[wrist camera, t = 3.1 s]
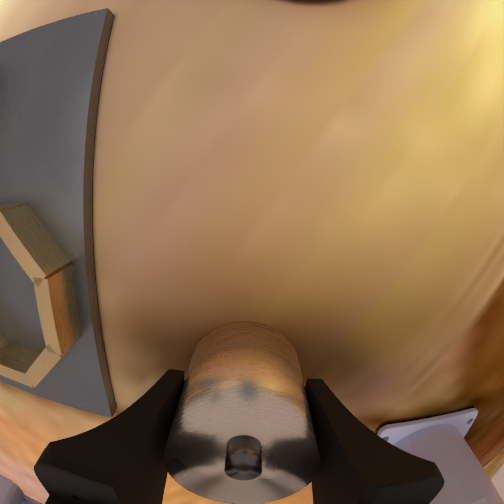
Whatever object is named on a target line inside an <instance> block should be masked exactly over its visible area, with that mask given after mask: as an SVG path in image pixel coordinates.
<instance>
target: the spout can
mask: <svg viewBox="0 0 504 504" xmlns="http://www.w3.org/2000/svg"><path fill="white" fill-rule="evenodd" d="M163 458H164V464H165V467H166V469H167V471H168V473H169V474H170V475H171V477H172V478H173V479H174V480H175V481H176V482H177V483H179V484H180V485H181V486H183V487H184V488H186V489H187V490H189V491H191V492H193V493H195V494H197V495H199V496H202V497H205V498H208V499H211V500H215V501H219V502H225V503H233V504H258V503H265V502H271V501H275V500H279V499H282V498H285V497H288V496H290V495H292V494H294V493H296V492H298V491H300V490H301V489H303V488H304V487H306V486H307V485H308V484H309V483H310V482H311V481H312V480H313V479H314V478H315V476H316V475H317V473H318V471H319V468H320V455H319V451H318V446H317V441H316V436H315V432H314V427H313V423H312V418H311V413H310V409H309V404H308V400H307V395H306V391H305V386H304V382H303V377H302V373H301V369H300V364H299V360H298V356H297V353H296V350H295V348H294V347H293V345H292V343H291V342H290V341H289V340H288V339H287V338H286V337H285V336H284V335H283V334H281V333H280V332H278V331H277V330H275V329H273V328H271V327H268V326H266V325H263V324H258V323H252V322H236V323H230V324H226V325H223V326H220V327H218V328H216V329H214V330H212V331H211V332H209V333H208V334H206V335H205V336H204V337H203V338H202V339H201V340H200V342H199V343H198V344H197V346H196V348H195V350H194V353H193V356H192V359H191V362H190V365H189V369H188V372H187V375H186V379H185V382H184V385H183V389H182V392H181V395H180V399H179V402H178V405H177V409H176V412H175V416H174V419H173V422H172V426H171V429H170V433H169V436H168V440H167V443H166V447H165V450H164V456H163Z"/></svg>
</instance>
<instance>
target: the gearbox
mask: <svg viewBox="0 0 504 504" xmlns="http://www.w3.org/2000/svg"><path fill="white" fill-rule="evenodd" d="M113 19H114V14H113V13H112V12H111V11H110V10H109V9H108V8H107V9H102V10H97V11H93V12H89V13H85V14H81V15H77V16H73V17H70V18H66V19H63V20H59V21H56V22H53V23H50V24H47V25H44V26H41V27H38V28H35V29H32V30H30V31H27V32H24V33H22V34H19V35H17V36H14V37H12V38H9V39H7V40H5V41H2V42H0V381H3V382H5V383H7V384H10V385H12V386H15V387H17V388H20V389H22V390H25V391H27V392H30V393H33V394H35V395H38V396H41V397H44V398H46V399H49V400H52V401H55V402H58V403H61V404H65V405H68V406H71V407H74V408H78V409H81V410H85V411H88V412H92V413H96V414H100V415H104V416H108V417H113V415H114V413H115V411H116V409H117V408H116V404H115V400H114V396H113V391H112V387H111V382H110V377H109V372H108V367H107V361H106V356H105V350H104V344H103V338H102V331H101V324H100V317H99V308H98V300H97V290H96V279H95V267H94V250H93V224H92V184H93V158H94V142H95V130H96V119H97V110H98V101H99V94H100V87H101V80H102V73H103V67H104V62H105V56H106V51H107V46H108V41H109V36H110V32H111V27H112V23H113Z"/></svg>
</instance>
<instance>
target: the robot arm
mask: <svg viewBox="0 0 504 504" xmlns="http://www.w3.org/2000/svg"><path fill="white" fill-rule="evenodd" d="M183 385H184V371H180V370H172V369H169V370H168V371H167V372H166V373H165V374H164V375H163V376H162V377H161V378H160V379H159V380H158V381H157V382H156V383H155V384H154V385H153V386H152V387H151V388H150V389H149V390H148V391H147V392H146V393H145V394H144V395H143V396H142V397H141V398H139V399H138V400H137V401H136V402H135V403H133V404H132V405H131V406H130V407H128V408H127V409H126V410H124V411H123V412H122V413H120V414H119V415H117V416H116V417H114V418H112V419H111V420H109V421H107V422H105V423H103V424H101V425H99V426H98V427H96V428H93V429H91V430H89V431H86V432H84V433H81V434H78V435H76V436H73V437H69V438H66V439H62V440H58V441H54V442H50V443H49V444H48V445H47V447H46V448H45V449H44V451H43V453H42V454H41V456H40V458H39V459H38V461H37V463H36V464H35V466H34V471H35V474H36V476H37V477H38V479H39V480H40V482H41V483H42V485H43V486H44V488H45V489H46V490H47V492H48V493H49V497H48V499H47V501H46V503H45V504H162V500H163V494H164V488H165V483H166V478H167V472H168V471H167V469H166V467H165V464H164V458H163V456H164V450H165V447H166V443H167V440H168V436H169V433H170V429H171V426H172V422H173V419H174V416H175V412H176V409H177V405H178V402H179V399H180V395H181V392H182V389H183ZM305 391H306V395H307V400H308V404H309V409H310V413H311V418H312V423H313V427H314V432H315V436H316V441H317V446H318V451H319V455H320V468H319V471H318V473H317V475H316V476H315V478H314V479H313V480H312V491H313V503H314V504H504V502H503V500H502V498H501V497H500V495H499V493H498V492H497V490H496V488H495V487H494V485H493V483H492V482H491V480H490V478H489V477H488V475H487V473H486V472H485V470H484V469H483V467H482V465H481V464H480V462H479V461H478V459H477V458H476V456H475V455H474V453H473V451H472V450H471V448H470V447H469V445H468V444H467V442H466V441H465V439H464V437H465V435H466V433H467V432H468V430H469V428H470V427H471V425H472V423H473V422H474V420H475V418H476V416H477V415H478V410H477V409H476V408H471V409H467V410H463V411H459V412H455V413H450V414H446V415H441V416H436V417H431V418H426V419H421V420H415V421H409V422H402V423H395V424H388V425H385V426H383V427H382V428H380V430H379V431H378V433H377V434H375V433H374V432H373V431H371V430H370V429H369V428H367V427H366V426H365V425H364V424H362V423H361V422H360V421H359V420H358V419H357V418H356V417H355V416H354V415H353V414H352V413H351V412H350V411H349V410H348V409H347V408H346V407H345V406H344V405H343V404H342V403H341V402H340V400H339V399H338V398H337V397H336V396H335V395H334V393H333V392H332V391H331V390H330V389H329V387H328V386H327V385H326V384H325V383H324V381H323V380H322V379H307V382H306V386H305ZM0 504H42V503H40V502H38V501H36V500H34V499H32V498H30V497H28V496H26V495H24V493H23V491H22V490H21V489H20V488H19V486H18V485H16V484H15V483H14V482H12V481H11V480H9V479H7V478H6V477H4V476H2V475H0Z"/></svg>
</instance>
